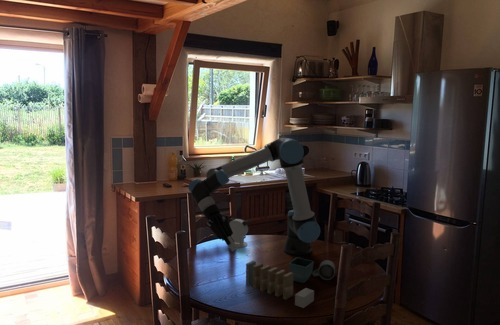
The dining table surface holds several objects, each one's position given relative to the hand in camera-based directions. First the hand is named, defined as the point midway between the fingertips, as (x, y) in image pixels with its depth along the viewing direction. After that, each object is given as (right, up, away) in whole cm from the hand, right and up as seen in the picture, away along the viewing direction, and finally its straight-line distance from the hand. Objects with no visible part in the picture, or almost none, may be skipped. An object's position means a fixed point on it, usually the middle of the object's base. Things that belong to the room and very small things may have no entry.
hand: (234, 249), depth 188 cm
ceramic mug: (+42, -14, +5) cm, 44 cm away
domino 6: (+23, -16, -16) cm, 33 cm away
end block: (+29, -17, -21) cm, 40 cm away
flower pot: (+30, -14, 0) cm, 34 cm away
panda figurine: (0, -8, +48) cm, 49 cm away
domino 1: (+7, -15, -4) cm, 17 cm away
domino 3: (+14, -15, -9) cm, 22 cm away
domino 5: (+20, -16, -14) cm, 29 cm away
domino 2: (+11, -15, -6) cm, 19 cm away
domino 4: (+17, -16, -11) cm, 25 cm away
